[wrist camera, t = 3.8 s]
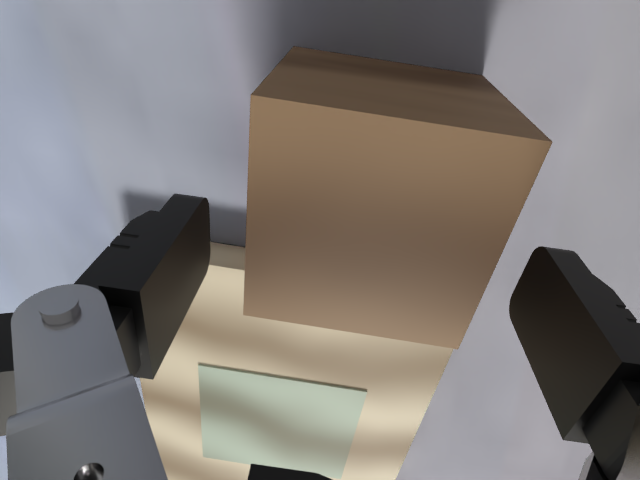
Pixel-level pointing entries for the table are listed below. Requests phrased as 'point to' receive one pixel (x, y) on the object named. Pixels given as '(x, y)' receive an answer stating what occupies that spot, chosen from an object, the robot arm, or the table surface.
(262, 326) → the birch board
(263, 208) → the walnut block
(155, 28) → the table surface
